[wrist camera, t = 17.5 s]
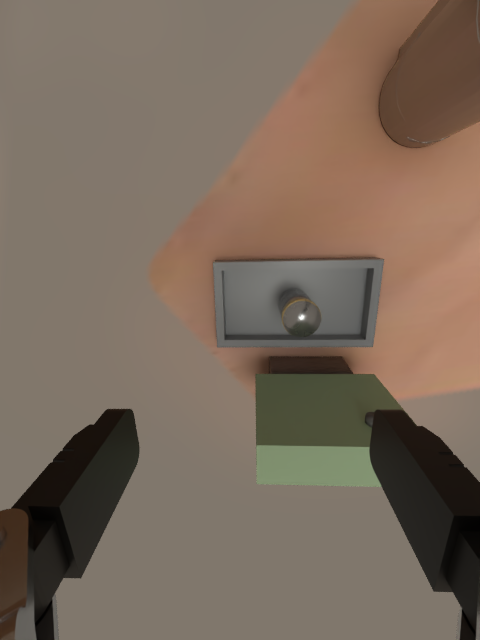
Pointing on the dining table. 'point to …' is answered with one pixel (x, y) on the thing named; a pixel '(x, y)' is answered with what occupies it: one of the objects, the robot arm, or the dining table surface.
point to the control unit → (316, 422)
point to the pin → (298, 313)
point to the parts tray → (316, 281)
